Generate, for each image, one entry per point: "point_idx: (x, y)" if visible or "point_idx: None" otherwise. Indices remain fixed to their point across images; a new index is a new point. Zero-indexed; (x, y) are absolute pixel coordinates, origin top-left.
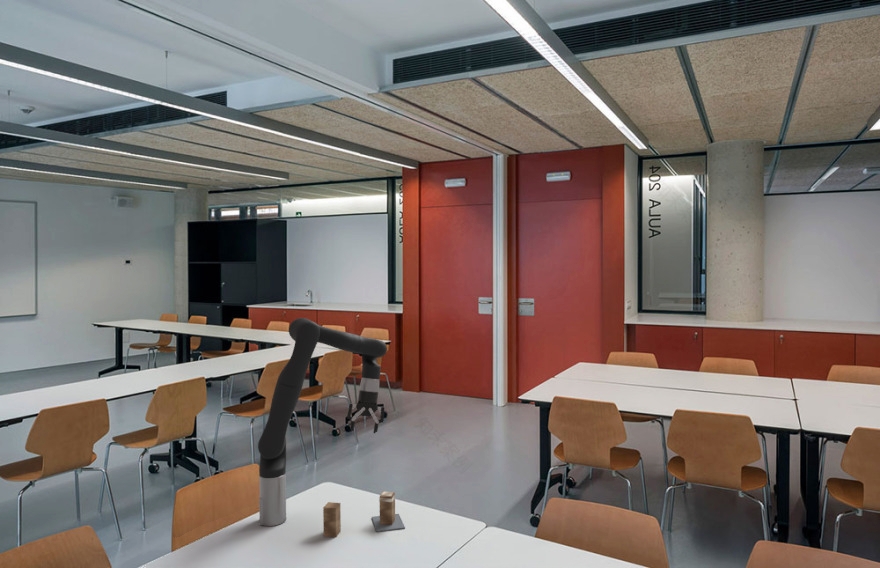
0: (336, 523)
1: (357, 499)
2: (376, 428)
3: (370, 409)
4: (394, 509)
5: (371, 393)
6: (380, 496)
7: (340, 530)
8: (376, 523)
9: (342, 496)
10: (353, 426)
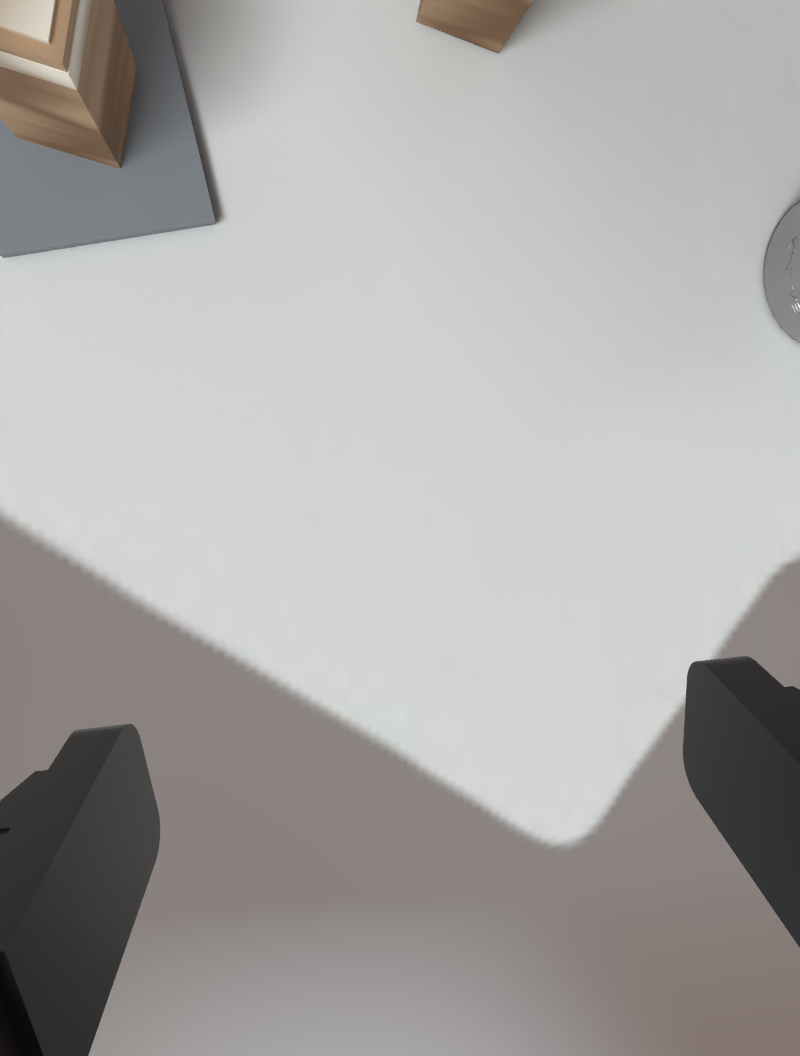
0: None
1: (356, 584)
2: (8, 842)
3: None
4: None
5: None
6: None
7: (419, 12)
8: (165, 87)
9: (463, 639)
10: (780, 723)
